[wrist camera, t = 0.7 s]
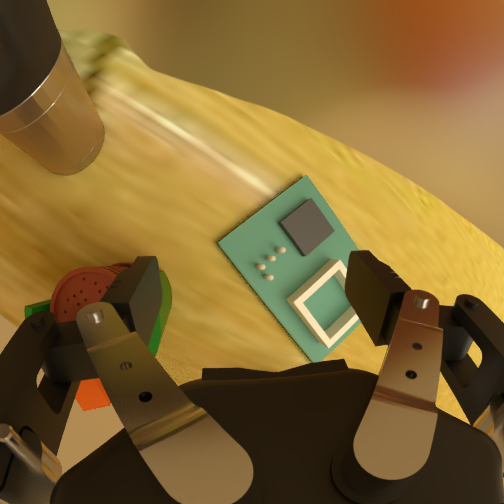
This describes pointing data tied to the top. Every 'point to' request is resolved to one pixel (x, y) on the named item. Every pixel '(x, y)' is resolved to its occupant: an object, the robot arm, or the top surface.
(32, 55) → the robot arm
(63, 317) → the green pen holder
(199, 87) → the top surface
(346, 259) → the board
